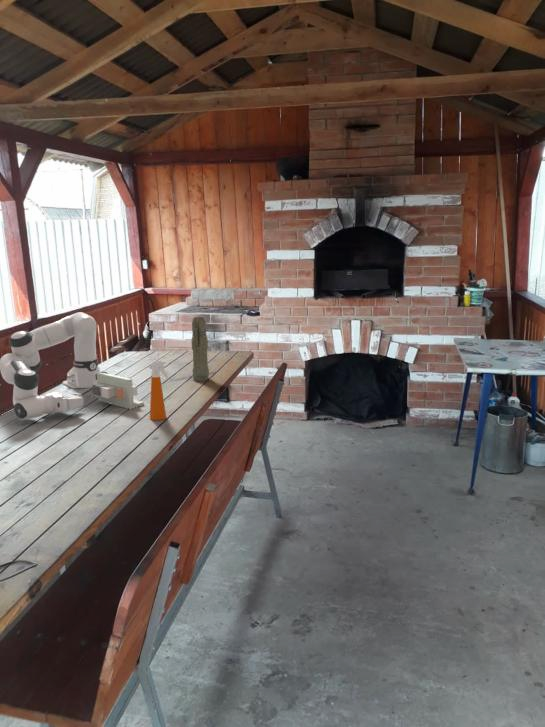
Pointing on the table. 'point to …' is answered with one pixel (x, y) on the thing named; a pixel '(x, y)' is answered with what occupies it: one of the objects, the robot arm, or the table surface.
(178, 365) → the table surface
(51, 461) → the table surface
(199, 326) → the green thermos flask
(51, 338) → the robot arm
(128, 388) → the panel
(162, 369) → the spray bottle
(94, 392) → the button charcoal
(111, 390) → the button cream
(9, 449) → the table surface
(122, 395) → the button terracotta
